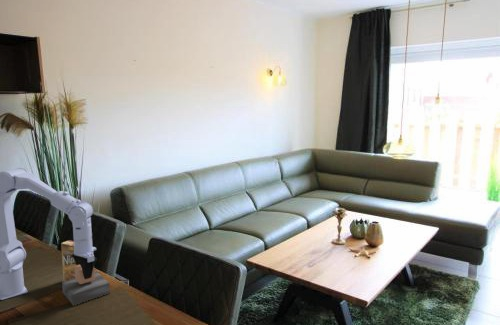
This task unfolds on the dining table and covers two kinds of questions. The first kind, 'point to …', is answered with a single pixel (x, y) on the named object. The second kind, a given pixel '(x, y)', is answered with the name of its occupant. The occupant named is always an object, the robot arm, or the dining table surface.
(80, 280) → the terracotta cube
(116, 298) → the dining table surface
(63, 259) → the candy box
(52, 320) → the dining table surface
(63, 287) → the grey flat square block
